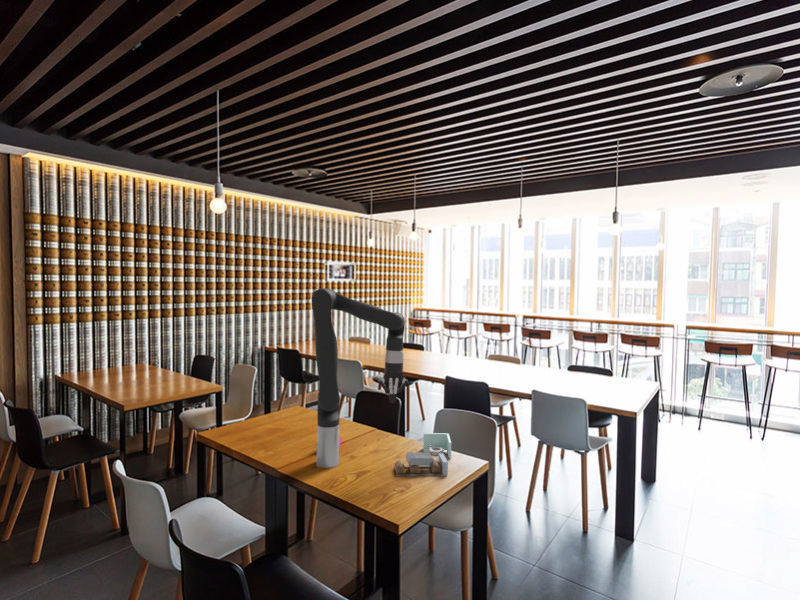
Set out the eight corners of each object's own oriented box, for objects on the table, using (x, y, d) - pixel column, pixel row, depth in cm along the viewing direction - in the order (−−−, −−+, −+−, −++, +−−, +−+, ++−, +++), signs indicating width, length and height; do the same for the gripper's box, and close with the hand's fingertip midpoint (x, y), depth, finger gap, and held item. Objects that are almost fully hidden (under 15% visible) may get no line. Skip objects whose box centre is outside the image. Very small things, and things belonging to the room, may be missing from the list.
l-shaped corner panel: (423, 448, 208) (423, 432, 207) (448, 448, 207) (448, 433, 207) (424, 458, 196) (424, 442, 195) (451, 459, 195) (451, 442, 195)
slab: (409, 465, 177) (410, 458, 177) (405, 459, 182) (406, 452, 182) (432, 465, 179) (433, 458, 179) (428, 459, 185) (428, 452, 185)
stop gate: (442, 476, 176) (442, 462, 176) (438, 467, 185) (438, 453, 185) (447, 476, 177) (447, 462, 176) (442, 467, 185) (443, 453, 185)
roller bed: (396, 477, 175) (396, 468, 174) (394, 468, 183) (394, 459, 183) (442, 476, 177) (442, 466, 176) (438, 467, 185) (438, 458, 185)
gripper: (408, 359, 184) (407, 400, 184) (377, 359, 182) (376, 399, 183) (411, 362, 176) (409, 405, 177) (378, 362, 175) (377, 404, 175)
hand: (392, 402), depth 180 cm, fingers closed
